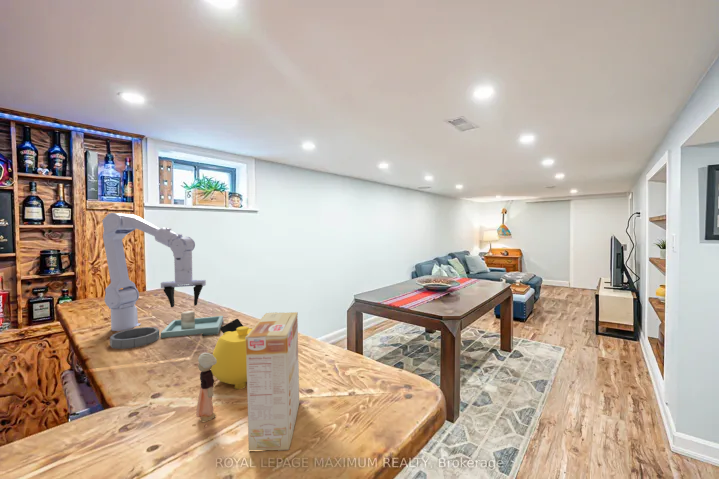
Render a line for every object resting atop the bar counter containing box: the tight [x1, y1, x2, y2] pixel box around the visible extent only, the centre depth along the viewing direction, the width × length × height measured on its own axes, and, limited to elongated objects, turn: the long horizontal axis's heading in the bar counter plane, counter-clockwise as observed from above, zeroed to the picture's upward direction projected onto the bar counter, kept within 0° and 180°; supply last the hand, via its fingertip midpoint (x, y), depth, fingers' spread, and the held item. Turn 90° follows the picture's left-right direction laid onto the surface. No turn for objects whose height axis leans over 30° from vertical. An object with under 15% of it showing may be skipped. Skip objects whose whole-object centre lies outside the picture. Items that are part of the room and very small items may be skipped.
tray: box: [160, 315, 224, 339], centre depth 116 cm, size 16×18×2 cm
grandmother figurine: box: [195, 352, 217, 422], centre depth 61 cm, size 8×4×13 cm, turn 45°
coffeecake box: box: [245, 311, 300, 451], centre depth 58 cm, size 15×7×20 cm, turn 4°
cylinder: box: [180, 310, 196, 330], centre depth 115 cm, size 4×4×6 cm
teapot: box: [210, 325, 253, 390], centre depth 77 cm, size 14×20×13 cm
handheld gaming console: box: [220, 318, 244, 335], centre depth 107 cm, size 12×7×10 cm
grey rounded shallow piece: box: [109, 326, 160, 350], centre depth 103 cm, size 13×13×4 cm
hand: (184, 305), depth 116 cm, fingers open, 7 cm apart
